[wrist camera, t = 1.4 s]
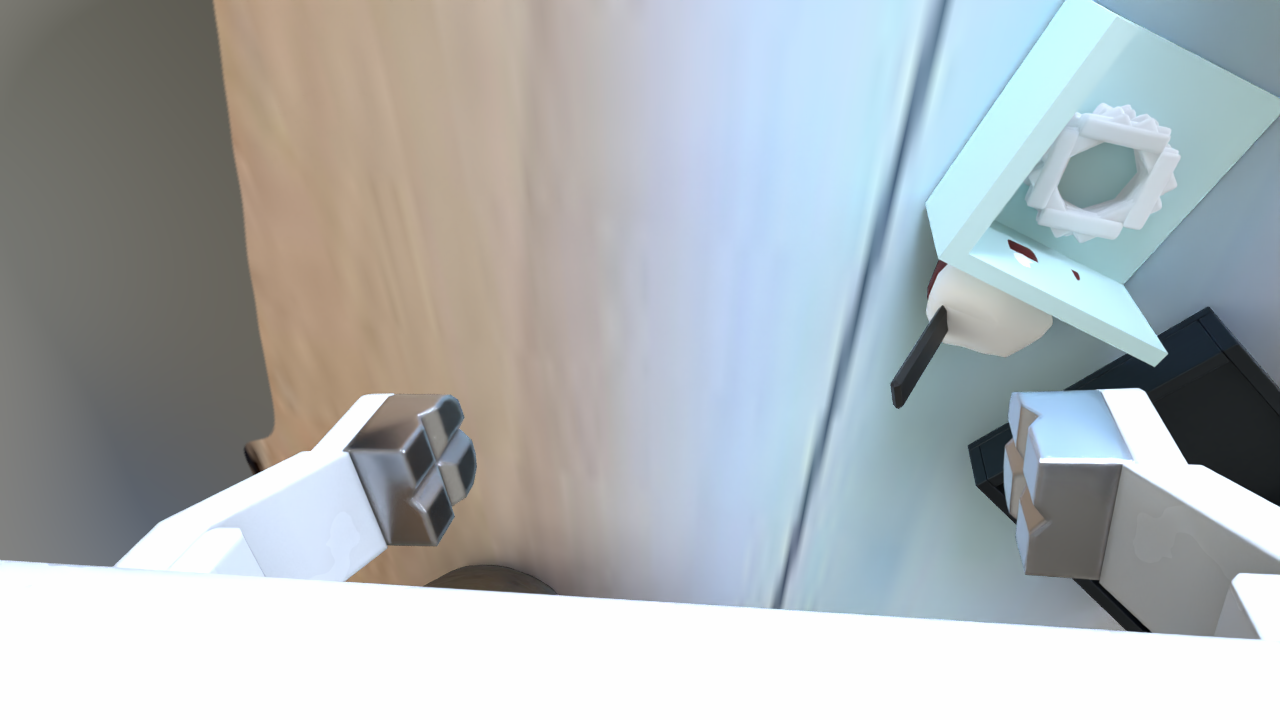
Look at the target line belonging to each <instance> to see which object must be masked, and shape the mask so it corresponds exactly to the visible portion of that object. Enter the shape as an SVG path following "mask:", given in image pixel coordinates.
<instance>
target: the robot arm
mask: <svg viewBox="0 0 1280 720" xmlns="http://www.w3.org/2000/svg"><path fill="white" fill-rule="evenodd" d="M463 419H464V415H463V412H462V409H461V406H460V403H459V401H458V399H456V398H455V397H453V396H452V395H440V394H368V395H364V396H361V397H360V398H359V399H358V401H357V402H356V403H355V404H354V405H353V406H352V407H351V408H350V409H349V410H348V411H347V413H346V414H345V415H344V416H343V417H342V418H341V419H340V420H339V421H338V422H337V423H336V425H335V426H334V427H333V428H332V429H331V430H330V431H329V432H328V433H327V434H326V435H325V437H324V438H323V439H322V440H321V441H320V442H319V443H318V444H317V445H316V446H315V447H314V449H313V450H312V451H311V452H300V453H298V454H296V455H294V456H292V457H290V458H288V459H286V460H284V461H282V462H280V463H278V464H276V465H274V466H272V467H270V468H268V469H266V470H264V471H262V472H260V473H258V474H256V475H254V476H252V477H250V478H248V479H246V480H244V481H242V482H240V483H238V484H236V485H234V486H232V487H230V488H228V489H226V490H224V491H222V492H220V493H218V494H215V495H214V496H211V497H209V498H207V499H205V500H203V501H201V502H200V503H197V504H195V505H194V506H191V507H189V508H187V509H185V510H183V511H181V512H179V513H177V514H175V515H173V516H171V517H169V518H167V519H165V520H163V521H161V522H159V523H158V524H157V525H156V526H155V527H154V528H153V529H152V530H151V531H150V532H149V533H148V534H147V535H146V536H144V538H142V539H141V540H140V541H139V542H138V543H137V544H136V545H135V546H134V547H133V548H132V549H131V550H130V551H129V552H128V553H127V554H126V555H125V556H124V557H123V558H122V559H121V560H120V561H118V563H116V564H115V565H114V566H113V567H102V566H86V565H69V564H54V563H37V562H23V561H7V560H0V720H1280V507H1279V506H1277V505H1275V504H1273V503H1271V502H1269V501H1267V500H1266V499H1264V498H1262V497H1260V496H1258V495H1256V494H1255V493H1253V492H1251V491H1249V490H1247V489H1245V488H1243V487H1242V486H1240V485H1238V484H1236V483H1234V482H1232V481H1230V480H1229V479H1227V478H1225V477H1223V476H1221V475H1219V474H1217V473H1216V472H1214V471H1212V470H1210V469H1208V468H1206V467H1205V466H1203V465H1188V463H1187V462H1186V460H1185V458H1184V457H1183V455H1182V453H1181V452H1180V450H1179V448H1178V446H1177V445H1176V443H1175V441H1174V440H1173V438H1172V436H1171V435H1170V433H1169V431H1168V429H1167V428H1166V426H1165V424H1164V423H1163V421H1162V419H1161V418H1160V416H1159V414H1158V412H1157V411H1156V409H1155V407H1154V406H1153V404H1152V402H1151V401H1150V399H1149V397H1148V395H1147V394H1146V392H1145V391H1143V390H1141V389H1140V388H1127V389H1101V390H1082V391H1043V392H1012V395H1011V399H1010V403H1009V411H1008V421H1009V425H1010V428H1011V432H1012V435H1013V438H1012V439H1011V440H1010V441H1009V442H1008V443H1007V444H1006V445H1005V452H1004V490H1005V496H1006V502H1007V506H1008V510H1009V514H1010V515H1012V516H1013V517H1014V518H1016V519H1017V527H1016V536H1015V538H1016V542H1017V545H1018V549H1019V553H1020V557H1021V560H1022V564H1023V568H1024V572H1025V575H1036V576H1050V577H1064V578H1078V579H1091V580H1100V581H1099V583H1100V584H1101V585H1102V586H1103V587H1104V588H1105V589H1106V590H1107V591H1108V592H1109V593H1110V594H1111V595H1113V596H1114V597H1115V598H1116V599H1117V600H1118V601H1119V602H1120V603H1121V604H1122V605H1123V606H1124V607H1125V608H1126V609H1127V610H1129V611H1130V612H1131V613H1132V614H1133V615H1134V616H1135V617H1136V618H1137V619H1138V620H1139V621H1140V622H1141V623H1142V624H1144V625H1145V626H1146V627H1147V628H1148V629H1149V630H1150V631H1151V632H1152V633H1146V632H1130V631H1115V630H1099V629H1083V628H1068V627H1052V626H1037V625H1021V624H1005V623H989V622H973V621H957V620H941V619H925V618H909V617H894V616H878V615H862V614H846V613H830V612H814V611H798V610H782V609H766V608H750V607H735V606H719V605H703V604H687V603H671V602H655V601H640V600H624V599H608V598H592V597H576V596H561V595H545V594H529V593H513V592H497V591H482V590H466V589H450V588H434V587H418V586H403V585H387V584H371V583H355V582H345V581H346V580H347V579H349V578H350V577H351V576H352V575H354V574H355V573H356V572H358V571H359V570H360V569H361V568H363V567H364V566H365V565H366V564H368V563H369V562H370V561H372V560H373V559H374V558H375V557H377V556H378V555H379V554H381V553H382V552H383V551H384V550H386V549H387V548H388V547H387V545H394V546H437V545H438V544H439V542H440V540H441V539H442V537H443V535H444V534H445V532H446V530H447V529H448V527H449V525H450V524H451V522H452V520H453V519H454V517H455V516H454V513H453V510H452V506H453V505H455V504H456V503H458V502H459V501H461V500H463V499H464V498H466V497H467V495H468V493H469V491H470V489H471V488H472V486H473V483H474V478H475V473H476V468H477V465H476V453H475V450H474V446H473V443H472V440H471V439H470V438H469V437H468V436H467V435H466V434H465V433H464V432H462V431H461V430H460V429H459V428H460V426H461V424H462V422H463Z"/></svg>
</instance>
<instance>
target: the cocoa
mask: <svg viewBox="0 0 1280 720" xmlns="http://www.w3.org/2000/svg"><path fill="white" fill-rule="evenodd" d="M1008 244H1009V247H1010V249H1012V250H1014V251H1016V252H1018V253H1014V256H1015V258H1016V259H1017V261H1018V262H1019V263H1021V264H1022V265H1023V266H1026V267H1029V268H1031V267H1030V264H1029V263H1033V262H1032V261H1030V260H1029V259H1028V258H1030V259H1032V260H1034V261H1036V262H1037V263H1038V260H1037V258H1036V256H1035V254H1034V253H1033V251H1031V250H1030V249H1029V248H1027V247H1025V246H1022V245H1020V244H1018V243H1016V242H1014V241H1011V240H1009V239H1008ZM1025 256H1026V257H1025ZM1027 257H1028V258H1027ZM1071 270H1072V269H1071ZM1072 272H1073V274H1074V276H1075V277H1076V279H1077V280H1080V276H1079V274H1078V273H1077V272H1076V271H1074V270H1072ZM927 298H928V304H927V309H926V315H927V317H928V320H929V324H928V326H927V327H926V329H925V330H924V332H923V333H922V335H921V337H920V338H919V340H918V341H917V343H916V344H915V346H914V348H913V349H912V351H911V352H910V354H909V355H908V357H907V359H906V360H905V362H904V363H903V365H902V366H901V368H900V370H899V371H898V373H897V374H896V376H895V377H894V379H893V381H892V382H891V384H890V385H891V392H892V400H893V405H894V406H895V407H896V408H898V409H899V408H901V407H902V406H903V405H904V403H905V402H906V400H907V398H908V397H909V395H910V393H911V392H912V390H913V388H914V387H915V385H916V383H917V382H918V380H919V378H920V377H921V375H922V374H923V372H924V370H925V369H926V367H927V365H928V364H929V362H930V360H931V359H932V357H933V355H934V354H935V352H936V350H937V349H938V347H939V345H940V344H941V342H943V343H945V344H950V345H956V346H961V347H965V348H968V349H971V350H974V351H977V352H979V353H982V354H990V355H997V356H1001V357H1007V356H1009V355H1011V354H1013V353H1015V352H1017V351H1019V350H1021V349H1023V348H1025V347H1026V346H1028V345H1029V344H1031V343H1033V342H1034V341H1036V340H1038V339H1039V338H1041V337H1042V336H1043V335H1044V334H1045V332H1046V331H1047V330H1048V329H1049V328H1050V327H1051V326H1052V324H1053V319H1052V315H1050V314H1048V313H1046V312H1044V311H1042V310H1040V309H1038V308H1036V307H1034V306H1032V305H1030V304H1028V303H1026V302H1024V301H1022V300H1020V299H1018V298H1016V297H1014V296H1012V295H1009V294H1007V293H1005V292H1003V291H1001V290H999V289H997V288H995V287H993V286H991V285H989V284H987V283H985V282H983V281H981V280H979V279H977V278H975V277H973V276H971V275H969V274H967V273H965V272H963V271H961V270H959V269H957V268H955V267H953V266H951V265H949V264H947V263H945V262H943V261H941V260H939V261H938V263H937V266H936V268H935V270H934V273H933V275H932V278H931V280H930V283H929V285H928V289H927Z"/></svg>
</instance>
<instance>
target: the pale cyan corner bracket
mask: <svg viewBox="0 0 1280 720" xmlns="http://www.w3.org/2000/svg"><path fill="white" fill-rule="evenodd" d="M1279 115H1280V98H1278V97H1277V96H1275V95H1273V94H1271V93H1269V92H1267V91H1265V90H1263V89H1261V88H1259V87H1257V86H1255V85H1253V84H1252V83H1250V82H1248V81H1246V80H1244V79H1242V78H1240V77H1238V76H1236V75H1234V74H1232V73H1230V72H1228V71H1227V70H1225V69H1223V68H1221V67H1219V66H1217V65H1215V64H1213V63H1211V62H1209V61H1207V60H1205V59H1203V58H1202V57H1200V56H1198V55H1196V54H1194V53H1192V52H1190V51H1188V50H1186V49H1184V48H1182V47H1180V46H1179V45H1177V44H1175V43H1173V42H1171V41H1169V40H1167V39H1165V38H1163V37H1161V36H1159V35H1157V34H1155V33H1154V32H1152V31H1150V30H1148V29H1146V28H1144V27H1142V26H1140V25H1138V24H1136V23H1134V22H1132V21H1130V20H1129V19H1127V18H1125V17H1123V16H1121V15H1119V14H1117V13H1115V12H1113V11H1111V10H1109V9H1107V8H1105V7H1104V6H1102V5H1100V4H1098V3H1096V2H1094V1H1092V0H1065V2H1064V3H1063V5H1062V6H1061V7H1060V9H1059V10H1058V12H1057V13H1056V15H1055V16H1054V18H1053V19H1052V20H1051V22H1050V23H1049V25H1048V26H1047V28H1046V29H1045V31H1044V32H1043V33H1042V35H1041V36H1040V38H1039V39H1038V41H1037V42H1036V44H1035V45H1034V46H1033V48H1032V49H1031V51H1030V52H1029V54H1028V55H1027V57H1026V58H1025V59H1024V61H1023V62H1022V64H1021V65H1020V67H1019V68H1018V70H1017V71H1016V73H1015V74H1014V75H1013V77H1012V78H1011V80H1010V81H1009V83H1008V84H1007V86H1006V87H1005V88H1004V90H1003V91H1002V93H1001V94H1000V96H999V97H998V99H997V100H996V101H995V103H994V104H993V106H992V107H991V109H990V110H989V112H988V113H987V114H986V116H985V117H984V119H983V120H982V122H981V123H980V125H979V126H978V127H977V129H976V130H975V132H974V133H973V135H972V136H971V138H970V139H969V140H968V142H967V143H966V145H965V146H964V148H963V149H962V151H961V152H960V154H959V155H958V156H957V158H956V159H955V161H954V162H953V164H952V165H951V167H950V168H949V169H948V171H947V172H946V174H945V175H944V177H943V178H942V180H941V181H940V182H939V184H938V185H937V187H936V188H935V190H934V191H933V193H932V194H931V195H930V197H929V198H928V200H927V201H926V203H925V205H926V209H927V213H928V217H929V222H930V226H931V230H932V235H933V239H934V243H935V247H936V252H937V256H938V259H939V260H941V261H943V262H945V263H947V264H949V265H951V266H953V267H955V268H957V269H959V270H961V271H963V272H965V273H967V274H969V275H971V276H973V277H975V278H977V279H979V280H981V281H983V282H985V283H987V284H989V285H991V286H993V287H995V288H997V289H999V290H1001V291H1003V292H1005V293H1007V294H1009V295H1012V296H1014V297H1016V298H1018V299H1020V300H1022V301H1024V302H1026V303H1028V304H1030V305H1032V306H1034V307H1036V308H1038V309H1040V310H1042V311H1044V312H1046V313H1048V314H1050V315H1052V316H1054V317H1056V318H1058V319H1060V320H1062V321H1064V322H1066V323H1068V324H1070V325H1072V326H1074V327H1076V328H1078V329H1080V330H1082V331H1084V332H1086V333H1088V334H1090V335H1092V336H1094V337H1096V338H1098V339H1100V340H1102V341H1104V342H1106V343H1108V344H1110V345H1112V346H1114V347H1116V348H1118V349H1120V350H1122V351H1124V352H1126V353H1128V354H1130V355H1132V356H1134V357H1136V358H1138V359H1140V360H1142V361H1144V362H1146V363H1148V364H1150V365H1152V366H1154V367H1155V366H1156V365H1157V364H1158V363H1159V362H1160V361H1161V360H1162V359H1163V358H1164V357H1165V356H1167V355H1168V353H1167V351H1166V350H1165V348H1164V346H1163V345H1162V343H1161V342H1160V340H1159V339H1158V337H1157V336H1156V334H1155V333H1154V331H1153V330H1152V328H1151V327H1150V325H1149V324H1148V322H1147V320H1146V319H1145V317H1144V316H1143V314H1142V313H1141V311H1140V310H1139V308H1138V307H1137V305H1136V304H1135V302H1134V301H1133V299H1132V298H1131V296H1130V294H1129V293H1128V291H1127V290H1126V288H1125V287H1124V284H1125V282H1126V281H1127V280H1128V279H1129V278H1130V277H1131V276H1132V275H1133V274H1134V273H1135V272H1136V271H1137V269H1138V268H1139V267H1140V266H1141V265H1142V264H1143V263H1144V262H1145V261H1146V260H1147V259H1148V257H1149V256H1150V255H1151V254H1152V253H1153V252H1154V251H1155V250H1156V249H1157V248H1158V247H1159V246H1160V244H1161V243H1162V242H1163V241H1164V240H1165V239H1166V238H1167V237H1168V236H1169V235H1170V234H1171V232H1172V231H1173V230H1174V229H1175V228H1176V227H1177V226H1178V225H1179V224H1180V223H1181V222H1182V221H1183V219H1184V218H1185V217H1186V216H1187V215H1188V214H1189V213H1190V212H1191V211H1192V210H1193V209H1194V207H1195V206H1196V205H1197V204H1198V203H1199V202H1200V201H1201V200H1202V199H1203V198H1204V197H1205V196H1206V194H1207V193H1208V192H1209V191H1210V190H1211V189H1212V188H1213V187H1214V186H1215V185H1216V184H1217V182H1218V181H1219V180H1220V179H1221V178H1222V177H1223V176H1224V175H1225V174H1226V173H1227V172H1228V171H1229V169H1230V168H1231V167H1232V166H1233V165H1234V164H1235V163H1236V162H1237V161H1238V160H1239V159H1240V157H1241V156H1242V155H1243V154H1244V153H1245V152H1246V151H1247V150H1248V149H1249V148H1250V147H1251V146H1252V144H1253V143H1254V142H1255V141H1256V140H1257V139H1258V138H1259V137H1260V136H1261V135H1262V134H1263V132H1264V131H1265V130H1266V129H1267V128H1268V127H1269V126H1270V125H1271V124H1272V123H1273V122H1274V121H1275V119H1276V118H1277V117H1278V116H1279ZM1008 239H1009V240H1011V241H1014V242H1016V243H1018V244H1020V245H1022V246H1025V247H1027V248H1029V249H1030V250H1031V251H1033V253H1034V254H1035V256H1036V258H1037V260H1038V263H1037V262H1036V261H1034V260H1032V259H1030V258H1028V257H1027V258H1028V259H1029V260H1030V261H1032V262H1033V263H1029V264H1030V267H1031V268H1029V267H1026V266H1023V265H1022V264H1021V263H1019V262H1018V261H1017V259H1016V258H1015V256H1014V253H1018V252H1016V251H1014V250H1012V249H1010V247H1009V244H1008ZM1025 257H1026V256H1025ZM1071 269H1072V270H1074V271H1076V272H1077V273H1078V274H1079V276H1080V280H1077V279H1076V277H1075V276H1074V274H1073V272H1072V270H1071Z"/></svg>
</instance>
